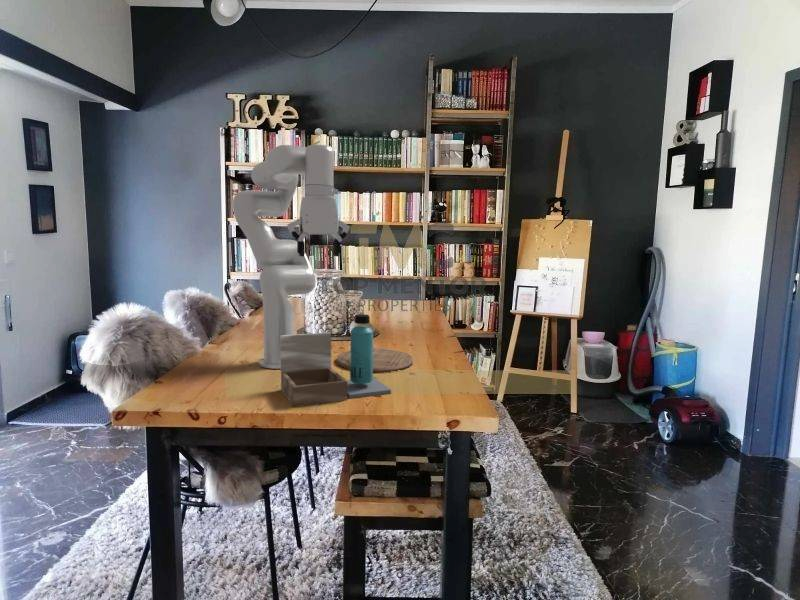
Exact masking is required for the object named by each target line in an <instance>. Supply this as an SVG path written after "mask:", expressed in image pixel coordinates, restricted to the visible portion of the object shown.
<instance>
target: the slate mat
mask: <svg viewBox="0 0 800 600" xmlns="http://www.w3.org/2000/svg"><path fill="white" fill-rule="evenodd" d="M346 381H347V399H354V398H355V399H356V398H363V397H371V396H379V395H380V396H381V395H388V393H390V394H392V389H391V388H390V387H388V386H387V385H385V384H384V383H383V382H381V381H380V380H379V379H377V378H376V377H373V379H372V382H370V383H365V384H358V383H353V382H351V379H350V380H348V379H347V380H346Z"/></svg>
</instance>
